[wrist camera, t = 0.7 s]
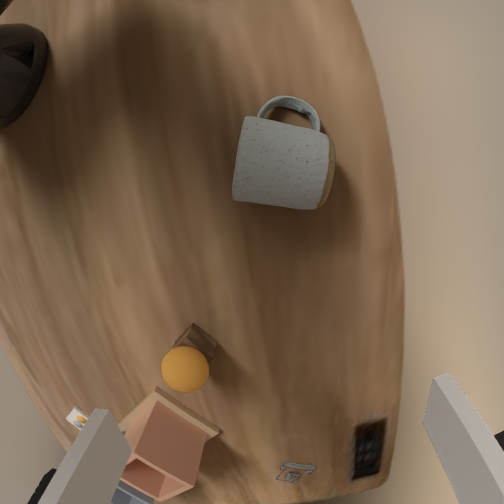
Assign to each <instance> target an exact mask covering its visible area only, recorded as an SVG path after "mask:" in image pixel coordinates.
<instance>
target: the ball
mask: <svg viewBox="0 0 504 504" xmlns="http://www.w3.org/2000/svg"><path fill="white" fill-rule="evenodd" d="M161 373H162V377H163V379H164V381H165V382H166V384H167V385H168V386H169V387H171V388H172V389H173V390H175V391H178V392H182V393H190V392H194V391H196V390H198V389H200V388H201V387H202V386H203V385H204V384H205V382H206V381H207V378H208V375H209V366H208V362H207V360H206V358H205V357H204V355H203V354H202V353H201V352H200V351H198V350H197V349H195V348H193V347H189V346H179V347H176V348H173V349H172V350H170V351H169V352H168V353H167V354H166V355H165V357H164V358H163V361H162V364H161Z"/></svg>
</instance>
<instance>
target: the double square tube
mask: <svg viewBox="0 0 504 504" xmlns="http://www.w3.org/2000/svg"><path fill="white" fill-rule="evenodd" d="M117 425H118V427H119V429H120V430H121V432H122V434H123V435H124V437H125V439H126V441H127V442H128V444H129V445H130V447H131V449H132V453H131V455H130V457H129V460H128V462H127V464H126V467H125V469H124V471H123V474H122V476H121V478H120V481H119V483H118V485H117V488H116V490H115V493H114V495H113V497H112V500H111V502H110V504H153V502H154V499H156V500H158V501H160V502H161V501H164V500H166V499H168V498H171V497H173V496H175V495H178V494H180V493H182V492H184V491H187V490H189V489H191V488H193V487H195V483H196V478H197V474H198V470H199V465H200V461H201V457H202V452H203V448H204V444H205V442H206V441H208V440H210V439H211V438H213V437H214V436H216V435H217V434H219V429H220V428H218V427H216V426H215V425H213V424H211V423H210V422H208V421H207V420H205V419H204V418H202V417H200V416H199V415H197V414H196V413H194V412H193V411H191V410H190V409H188V408H187V407H185V406H184V405H182V404H181V403H179V402H178V401H176V400H175V399H174V398H172V397H171V396H169V395H168V394H167V393H165V392H164V391H162V390H161V389H160V388H158V387H157V386H156V387H155V388H154V389H153V390H152V391H151V392H150V393H149V394H148V395H147V396H146V397H145V398H144V399H143V400H142V401H141V402H140V403H139V404H138V405H136V406H135V407H134V408H133V409H132V410H131V411H130V412H129V413H128V414H127V415H126V416H125V417H124V418H123V419H122V420H121V421H120V422H119V423H117Z"/></svg>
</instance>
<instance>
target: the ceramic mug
mask: <svg viewBox="0 0 504 504" xmlns="http://www.w3.org/2000/svg"><path fill="white" fill-rule="evenodd" d="M280 106H282V107H286V108H290V109H294V110H297V111H299V112H300V113H305V114H306V115H307V116H308V117H309V119H310V120H311V122H312V126H313V129H309V128H305V127H299V126H294V125H290V124H286V123H282V122H278V121H273V120H268V119H264V118H263V116H264V115H265V114H266V112H267V111H268V110H270V109H271V108H273V107H280ZM335 159H336V154H335V145H334V143H333V141H332V139H331V138H330V137H329V136H327V135H326V134H323V133H321V132H320V120H319V117H318V114H317V112H316V111H315V110H314V108H313V107H312V106H311V105H309V104H308V103H307V102H305V101H303V100H301V99H299V98H295V97H291V96H277V97H275V98H273V99H271V100H269V101H268V102H266V103H265V104H264V105H263V107H262V108H261V109H260V111H259V113H258V115H257V117H255V116H246V117H245V118H244V121H243V125H242V129H241V134H240V139H239V143H238V150H237V156H236V163H235V170H234V176H233V183H232V198H233V200H236V201H243V202H252V203H258V204H265V205H273V206H282V207H287V208H293V209H302V210H306V209H310V210H313V209H317V208H319V207H321V206H322V205H323V204H324V202H325V201H326V199H327V197H328V195H329V192H330V189H331V185H332V181H333V177H334V170H335Z"/></svg>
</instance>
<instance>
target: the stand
mask: <svg viewBox="0 0 504 504" xmlns="http://www.w3.org/2000/svg"><path fill="white" fill-rule="evenodd" d="M216 344H217V341H216V340H214V339H213V338H212V337H211V336H209V335H208V334H207V333H205V332H204V331H203V330H202V329H200V328H199V327H198V326H197V325H195V324H194V323H193V324H192V325H191V326H190V327H189V328H188V329H187V330H186V331H185V332H184V333H183V334H182V335H181V336H180V337H179V338H178V340H177V341H176V342H175V344H174V346H173V348H176V347H179V346H189V347H193V348H195V349H197V350H198V351H200V352H201V353H202V354H203V355H204V357H205V358H206V360H207V362H209V361H210V360H211V359H212V358H213V355H214V351H215V348H216ZM173 348H172V349H173Z"/></svg>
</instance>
